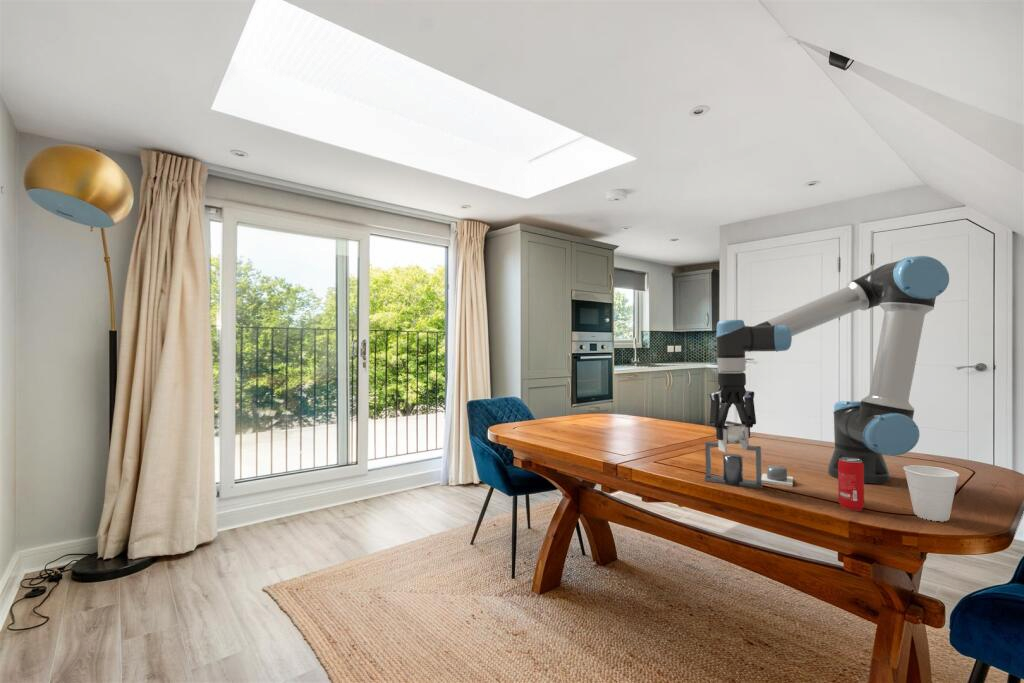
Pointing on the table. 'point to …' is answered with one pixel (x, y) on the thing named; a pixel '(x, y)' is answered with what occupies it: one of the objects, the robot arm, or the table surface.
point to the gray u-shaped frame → (733, 468)
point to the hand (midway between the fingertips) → (733, 449)
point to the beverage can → (851, 483)
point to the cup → (931, 491)
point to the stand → (777, 476)
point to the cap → (736, 433)
